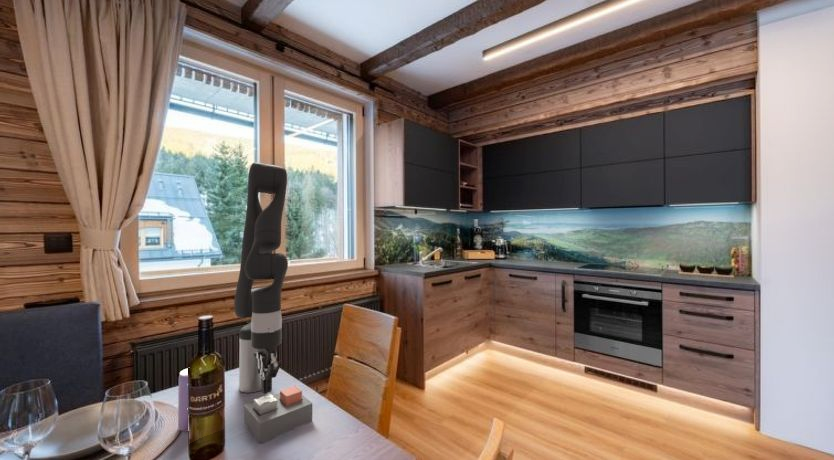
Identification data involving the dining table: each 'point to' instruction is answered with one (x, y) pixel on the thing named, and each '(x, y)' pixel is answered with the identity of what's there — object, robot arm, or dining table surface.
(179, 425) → the beverage can
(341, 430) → the dining table surface
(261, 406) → the plug
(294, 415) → the grey plug holder
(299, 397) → the orange cube
